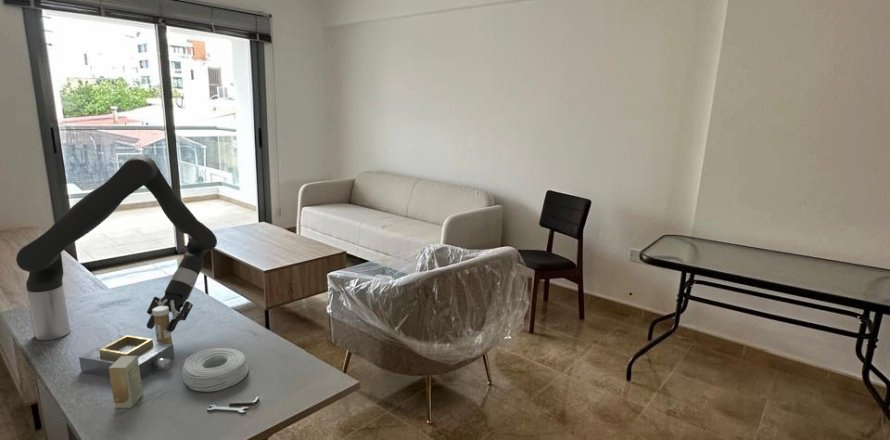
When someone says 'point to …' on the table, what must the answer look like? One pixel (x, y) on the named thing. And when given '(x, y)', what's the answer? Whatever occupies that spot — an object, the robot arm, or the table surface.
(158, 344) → the grey block with recess
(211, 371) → the cable
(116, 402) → the skincare box
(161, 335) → the sprinkles bottle
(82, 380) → the table surface
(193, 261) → the robot arm
